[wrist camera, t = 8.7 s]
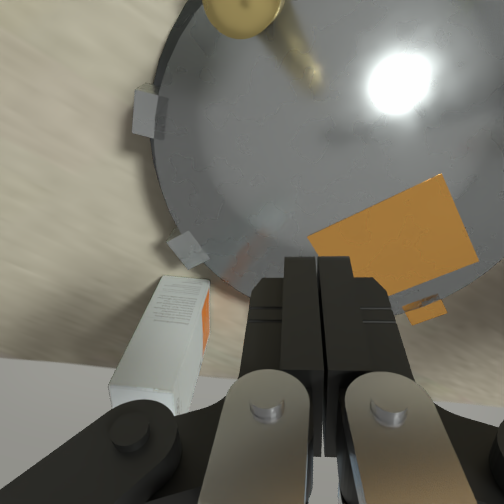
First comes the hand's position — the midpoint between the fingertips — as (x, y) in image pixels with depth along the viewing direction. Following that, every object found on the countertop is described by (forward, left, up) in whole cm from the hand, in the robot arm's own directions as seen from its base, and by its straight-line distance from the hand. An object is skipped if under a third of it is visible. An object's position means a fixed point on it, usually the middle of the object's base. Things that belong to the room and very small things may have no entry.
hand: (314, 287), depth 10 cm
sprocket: (-2, +3, -18) cm, 19 cm away
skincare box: (+11, +16, -20) cm, 28 cm away
